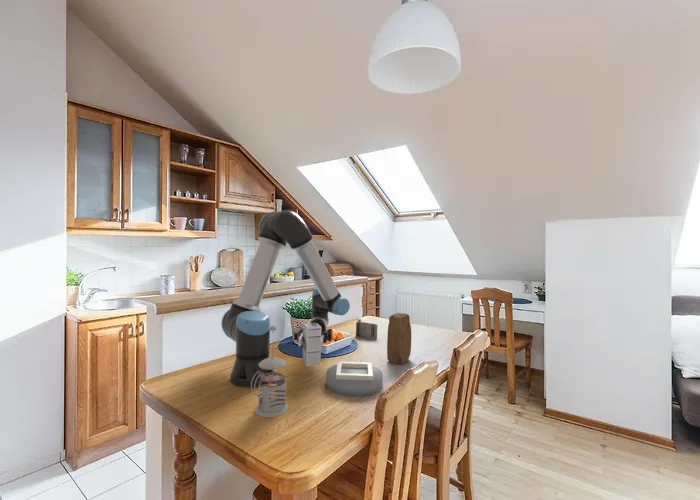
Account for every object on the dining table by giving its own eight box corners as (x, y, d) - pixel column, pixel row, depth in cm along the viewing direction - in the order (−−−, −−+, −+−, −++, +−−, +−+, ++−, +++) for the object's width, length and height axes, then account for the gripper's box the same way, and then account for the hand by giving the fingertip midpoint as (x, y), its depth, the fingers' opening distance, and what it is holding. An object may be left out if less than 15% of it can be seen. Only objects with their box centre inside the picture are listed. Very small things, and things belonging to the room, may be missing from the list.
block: (400, 366, 141) (401, 317, 140) (384, 361, 145) (386, 314, 145) (413, 359, 149) (414, 313, 148) (398, 355, 154) (399, 310, 153)
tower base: (323, 395, 113) (323, 378, 113) (328, 372, 133) (328, 357, 133) (384, 397, 113) (385, 380, 112) (380, 373, 132) (380, 359, 132)
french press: (295, 408, 104) (296, 326, 103) (261, 423, 95) (263, 333, 94) (275, 398, 110) (276, 320, 109) (242, 410, 102) (244, 326, 101)
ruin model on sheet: (355, 336, 183) (355, 318, 183) (358, 335, 186) (358, 317, 186) (374, 340, 177) (374, 321, 177) (377, 339, 180) (377, 320, 180)
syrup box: (320, 365, 128) (322, 326, 128) (305, 366, 126) (306, 327, 125) (316, 359, 133) (318, 322, 133) (301, 361, 131) (303, 323, 131)
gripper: (340, 337, 147) (337, 354, 124) (293, 335, 148) (282, 352, 125) (341, 319, 147) (338, 333, 124) (294, 317, 147) (282, 331, 124)
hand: (310, 343), depth 124 cm, fingers closed on syrup box, 7 cm apart
